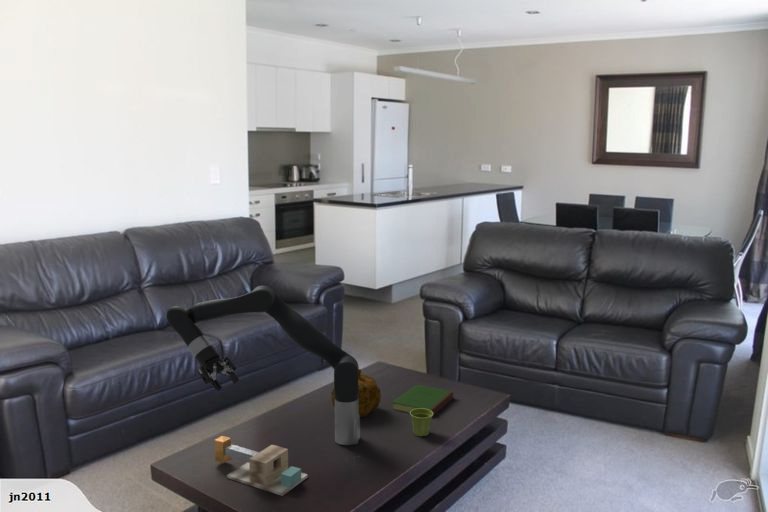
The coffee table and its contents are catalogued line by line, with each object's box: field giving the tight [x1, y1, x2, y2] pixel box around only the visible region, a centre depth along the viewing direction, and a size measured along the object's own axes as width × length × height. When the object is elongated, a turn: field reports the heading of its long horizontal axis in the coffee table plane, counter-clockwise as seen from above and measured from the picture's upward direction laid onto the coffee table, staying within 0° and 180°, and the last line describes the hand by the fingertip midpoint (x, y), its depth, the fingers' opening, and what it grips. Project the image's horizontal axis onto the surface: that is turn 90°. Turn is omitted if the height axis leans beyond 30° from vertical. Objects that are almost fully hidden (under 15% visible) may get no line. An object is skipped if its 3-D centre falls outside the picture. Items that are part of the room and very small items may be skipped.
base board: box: [226, 462, 309, 497], centre depth 220 cm, size 24×14×1 cm, turn 61°
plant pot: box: [409, 408, 433, 437], centre depth 254 cm, size 9×9×9 cm
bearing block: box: [249, 444, 289, 486], centre depth 219 cm, size 7×12×9 cm, turn 151°
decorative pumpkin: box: [330, 368, 382, 418], centre depth 273 cm, size 20×21×20 cm
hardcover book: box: [391, 384, 454, 417], centre depth 285 cm, size 25×19×4 cm
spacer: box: [281, 465, 302, 488], centre depth 214 cm, size 4×6×4 cm
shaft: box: [214, 435, 260, 464], centre depth 224 cm, size 23×4×8 cm, turn 61°
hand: (228, 386), depth 230 cm, fingers open, 8 cm apart
